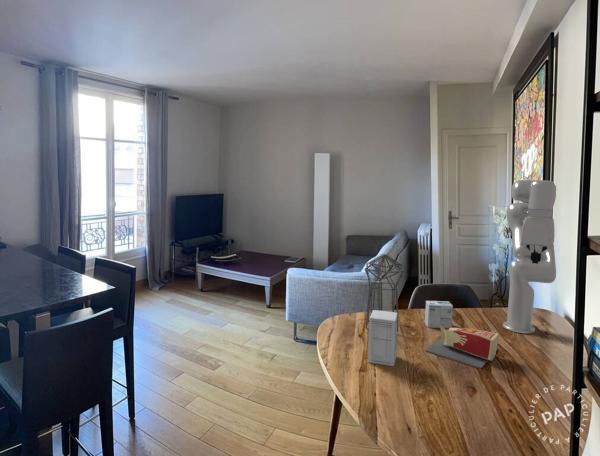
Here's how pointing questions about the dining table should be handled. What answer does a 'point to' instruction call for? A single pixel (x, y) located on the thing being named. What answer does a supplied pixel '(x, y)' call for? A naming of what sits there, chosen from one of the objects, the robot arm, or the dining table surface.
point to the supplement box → (382, 337)
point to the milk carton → (471, 341)
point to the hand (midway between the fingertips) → (535, 262)
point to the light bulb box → (438, 314)
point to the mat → (456, 355)
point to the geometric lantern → (384, 283)
